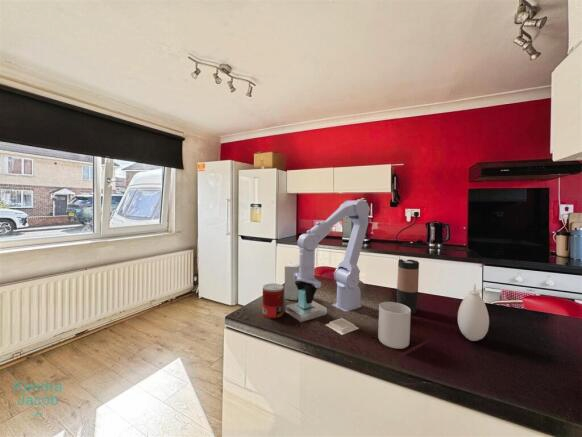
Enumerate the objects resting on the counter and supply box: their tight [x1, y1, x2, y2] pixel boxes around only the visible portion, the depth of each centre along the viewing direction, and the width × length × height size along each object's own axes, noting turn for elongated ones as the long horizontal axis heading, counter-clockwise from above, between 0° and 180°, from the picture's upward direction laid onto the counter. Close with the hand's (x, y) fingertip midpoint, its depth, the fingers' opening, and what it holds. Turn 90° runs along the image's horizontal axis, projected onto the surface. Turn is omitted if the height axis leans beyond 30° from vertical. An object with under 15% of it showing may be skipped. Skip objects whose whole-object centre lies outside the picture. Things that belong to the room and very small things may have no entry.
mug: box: [377, 301, 412, 350], centre depth 78 cm, size 12×9×11 cm
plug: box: [297, 289, 311, 309], centre depth 95 cm, size 4×4×6 cm
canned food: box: [262, 283, 285, 319], centre depth 95 cm, size 8×8×11 cm
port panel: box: [285, 300, 328, 323], centre depth 96 cm, size 12×10×3 cm
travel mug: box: [396, 259, 420, 315], centre depth 101 cm, size 8×8×20 cm
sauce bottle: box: [457, 283, 490, 342], centre depth 79 cm, size 8×8×18 cm
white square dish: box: [324, 317, 360, 336], centre depth 86 cm, size 8×8×2 cm
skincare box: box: [284, 262, 299, 301], centre depth 114 cm, size 8×6×15 cm
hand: (306, 301), depth 96 cm, fingers closed on plug, 3 cm apart
